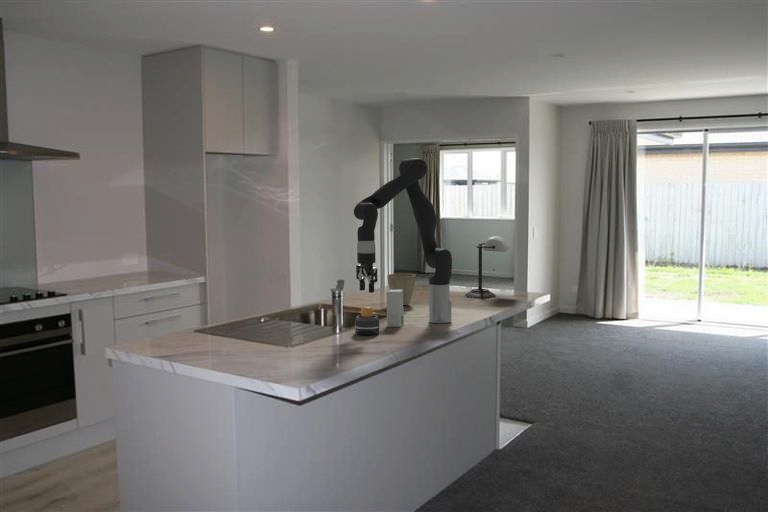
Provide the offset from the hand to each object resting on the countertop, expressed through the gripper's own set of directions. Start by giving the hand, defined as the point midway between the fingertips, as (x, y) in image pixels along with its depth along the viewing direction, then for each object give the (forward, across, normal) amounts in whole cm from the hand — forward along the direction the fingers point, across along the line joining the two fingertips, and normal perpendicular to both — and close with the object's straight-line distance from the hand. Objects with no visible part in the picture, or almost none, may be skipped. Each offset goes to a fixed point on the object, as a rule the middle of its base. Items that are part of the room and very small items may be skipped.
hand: (366, 291), depth 271 cm
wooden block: (+12, 0, 0) cm, 12 cm away
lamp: (+18, +53, -106) cm, 120 cm away
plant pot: (+18, +53, -50) cm, 75 cm away
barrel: (+18, 0, 0) cm, 18 cm away
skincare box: (+18, +9, -19) cm, 28 cm away
